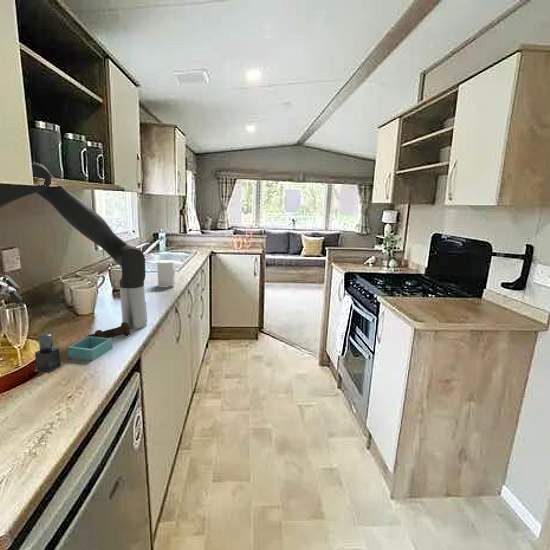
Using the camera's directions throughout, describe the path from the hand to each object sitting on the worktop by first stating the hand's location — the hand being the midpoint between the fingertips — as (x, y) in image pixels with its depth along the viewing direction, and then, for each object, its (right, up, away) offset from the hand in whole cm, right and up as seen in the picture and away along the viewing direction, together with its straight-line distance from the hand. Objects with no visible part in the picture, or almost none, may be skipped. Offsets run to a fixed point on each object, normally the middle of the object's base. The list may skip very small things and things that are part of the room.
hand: (8, 306), depth 112 cm
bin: (+20, -18, +12) cm, 29 cm away
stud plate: (+12, -20, +1) cm, 23 cm away
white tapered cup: (+16, +3, +109) cm, 111 cm away
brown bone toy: (+18, -15, +27) cm, 36 cm away
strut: (+12, -18, +1) cm, 22 cm away
